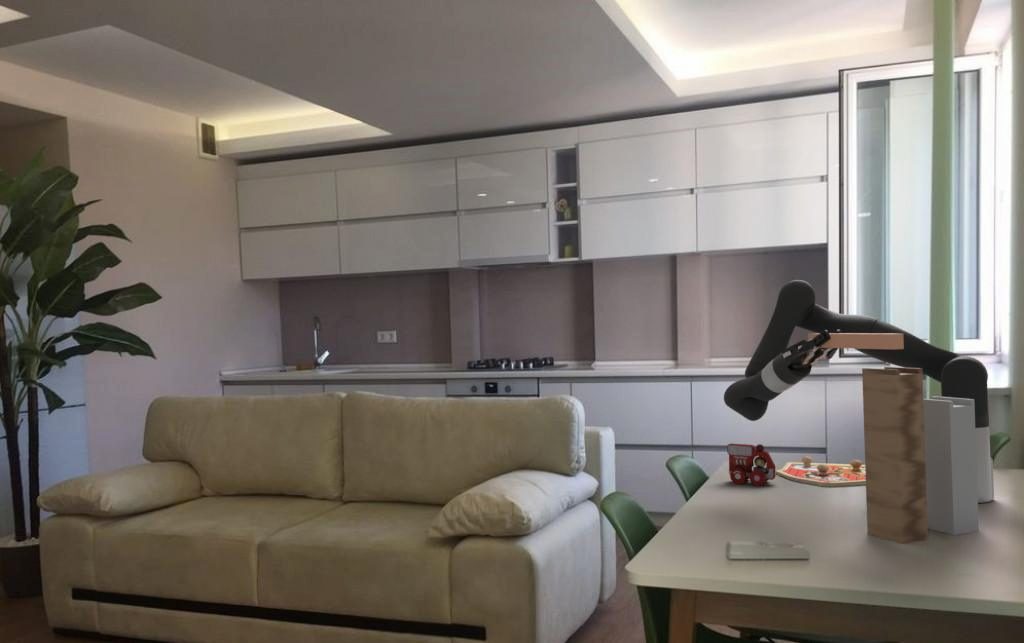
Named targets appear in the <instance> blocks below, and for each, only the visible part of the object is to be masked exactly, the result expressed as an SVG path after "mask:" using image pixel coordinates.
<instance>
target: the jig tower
mask: <svg viewBox="0 0 1024 643" xmlns="http://www.w3.org/2000/svg"><path fill="white" fill-rule="evenodd" d="M861 374H862V375H861V376H862V377H861V378H862V403H863V404H862V405H863V410H862V412H863V434H864V435H863V436H864V438H863V439H864V465H865V472H866V485H865V496H866V500H865V501H866V502H865V503H866V525H867V526H866V527H867V528H866V529H867V532H866V533H867V535H870V536H874V537H878V538H881V539H883V540H884V539H885V540H887V541H891V542H894V543H898V544H901V545H902V544H908V543H913V542H918V541H924V540H928V539H929V534H928V533H929V532H928V531H929V529H928V525H927V495H926V465H925V435H924V405H923V399H924V382H923V381H924V379H923V376H924V374H922V368H904V367H900V366H896V367H895V366H884V368H870V367H869V368H867V367H865V368H861Z"/></svg>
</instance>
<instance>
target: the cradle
mask: <svg viewBox="0 0 1024 643" xmlns="http://www.w3.org/2000/svg"><path fill="white" fill-rule="evenodd" d="M923 405H924V435H925V465H926V495H927V525H928V530H932V531H936V532H940V533H944V534H947V535H950V536H951V535H952V536H957V535H963V533H964V534H968V532H969V533H974V532H973V531H975V532H979V531H978V530H980V529H979V528H980V526H979V507H978V506H979V503H978V493H977V463H976V434H975V404H974V399H964V398H951V397H942V396H938V395H937V396H936V395H933V396H930V398H923Z"/></svg>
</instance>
